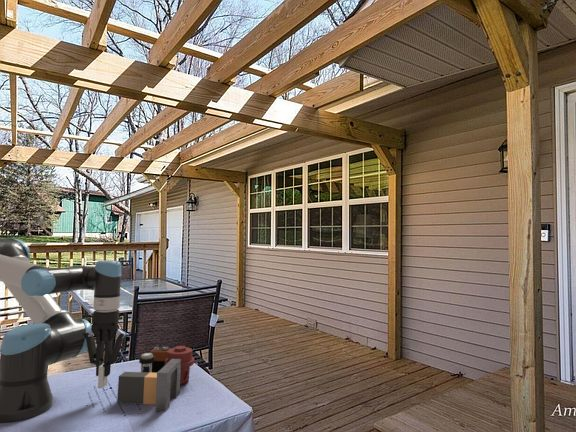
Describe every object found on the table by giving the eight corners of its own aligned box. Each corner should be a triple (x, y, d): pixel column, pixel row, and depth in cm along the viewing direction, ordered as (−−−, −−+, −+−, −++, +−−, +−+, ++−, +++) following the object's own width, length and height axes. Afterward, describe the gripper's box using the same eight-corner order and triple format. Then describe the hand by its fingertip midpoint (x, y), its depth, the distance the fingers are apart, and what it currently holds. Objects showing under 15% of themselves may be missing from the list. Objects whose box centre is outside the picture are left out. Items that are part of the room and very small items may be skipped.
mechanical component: (198, 379, 133) (185, 390, 123) (173, 376, 135) (158, 387, 125) (199, 344, 134) (186, 352, 124) (174, 342, 136) (159, 350, 126)
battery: (166, 377, 135) (168, 349, 135) (148, 376, 135) (149, 348, 136) (171, 372, 139) (172, 345, 140) (153, 372, 139) (154, 345, 140)
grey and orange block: (117, 403, 113) (118, 376, 113) (123, 397, 117) (124, 371, 117) (156, 404, 112) (157, 377, 113) (160, 398, 116) (162, 372, 117)
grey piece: (155, 411, 108) (157, 372, 109) (170, 393, 121) (172, 358, 122) (165, 411, 108) (167, 373, 109) (179, 393, 121) (181, 359, 122)
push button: (159, 381, 131) (160, 352, 132) (154, 386, 126) (156, 356, 126) (140, 380, 131) (141, 352, 131) (135, 386, 125) (136, 356, 126)
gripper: (79, 311, 113) (74, 390, 112) (121, 312, 113) (117, 392, 111) (92, 307, 121) (88, 381, 119) (132, 308, 120) (128, 382, 119)
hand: (102, 386), depth 115 cm, fingers closed
